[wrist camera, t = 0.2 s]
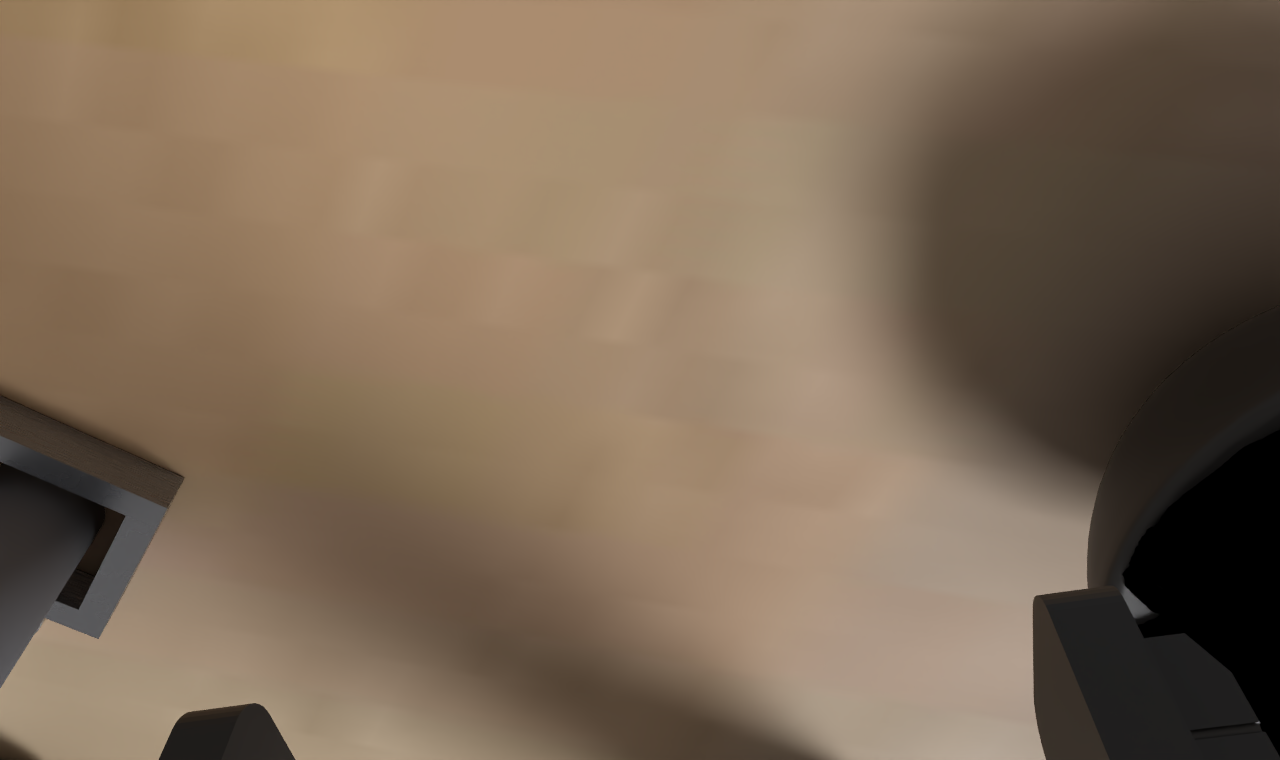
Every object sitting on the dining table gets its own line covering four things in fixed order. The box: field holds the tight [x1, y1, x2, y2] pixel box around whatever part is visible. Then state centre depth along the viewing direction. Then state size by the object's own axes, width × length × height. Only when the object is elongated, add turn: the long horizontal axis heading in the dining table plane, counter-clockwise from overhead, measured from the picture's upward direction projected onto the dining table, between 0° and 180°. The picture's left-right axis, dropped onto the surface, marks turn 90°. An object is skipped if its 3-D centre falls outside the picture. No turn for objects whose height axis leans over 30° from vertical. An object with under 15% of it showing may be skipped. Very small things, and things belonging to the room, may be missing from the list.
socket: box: [0, 396, 184, 639], centre depth 47 cm, size 9×9×2 cm
